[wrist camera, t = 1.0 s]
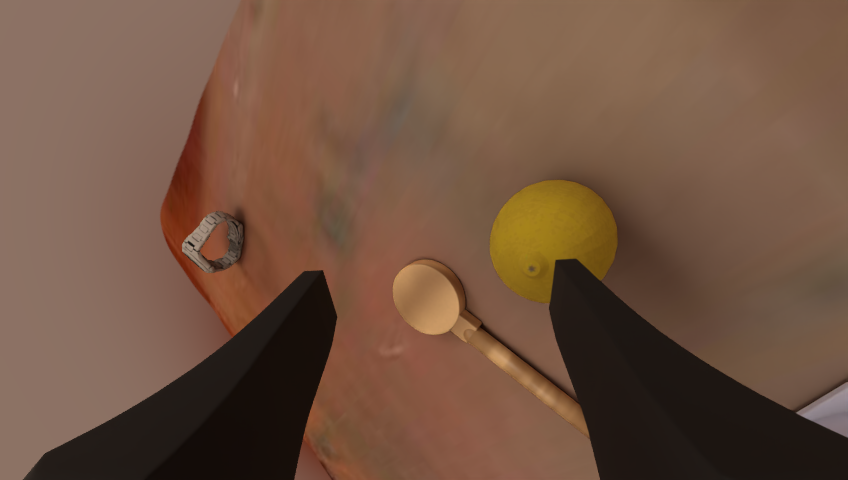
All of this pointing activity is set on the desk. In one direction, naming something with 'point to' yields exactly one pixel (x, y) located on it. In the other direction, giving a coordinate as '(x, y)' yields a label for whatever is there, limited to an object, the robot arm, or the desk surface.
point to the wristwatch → (202, 234)
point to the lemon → (551, 236)
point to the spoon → (469, 330)
